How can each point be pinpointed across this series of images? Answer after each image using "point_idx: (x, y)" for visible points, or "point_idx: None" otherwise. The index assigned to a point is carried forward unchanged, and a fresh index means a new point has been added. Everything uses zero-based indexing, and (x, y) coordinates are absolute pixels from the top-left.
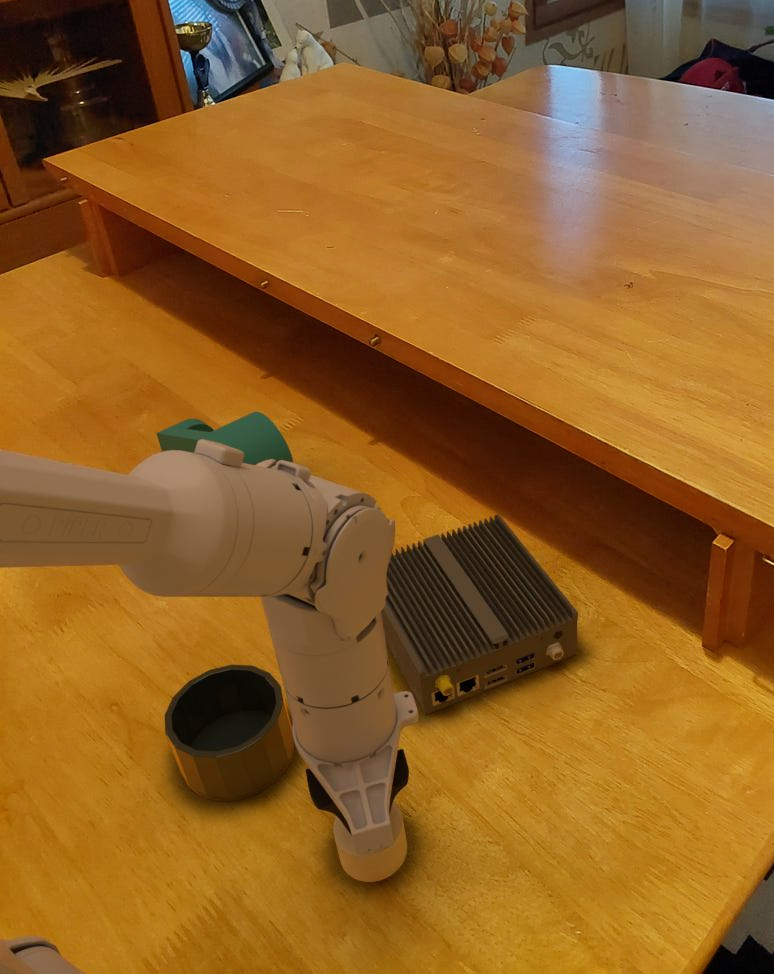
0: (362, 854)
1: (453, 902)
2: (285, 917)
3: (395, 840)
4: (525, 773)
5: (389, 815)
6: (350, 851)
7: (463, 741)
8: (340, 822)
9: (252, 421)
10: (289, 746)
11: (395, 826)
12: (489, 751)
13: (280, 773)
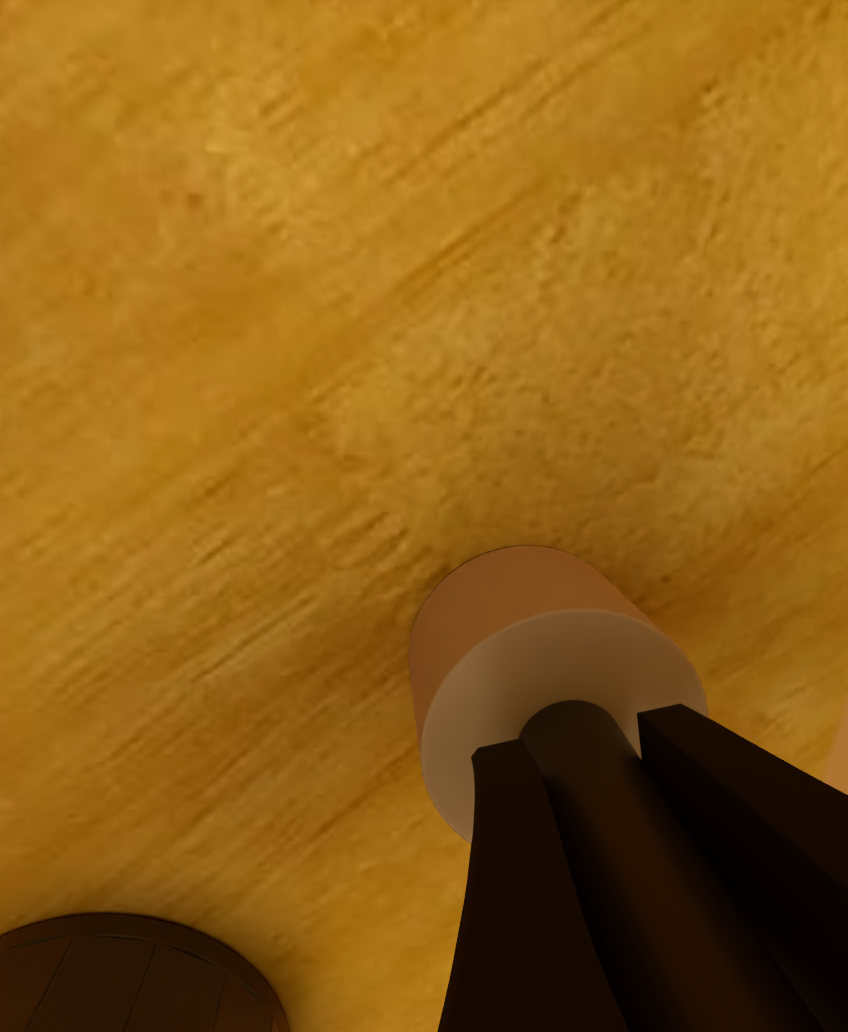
0: None
1: (752, 398)
2: None
3: (667, 637)
4: (246, 6)
5: (768, 753)
6: None
7: (54, 295)
8: None
9: None
10: (103, 973)
11: (606, 639)
12: (113, 174)
13: (202, 950)
